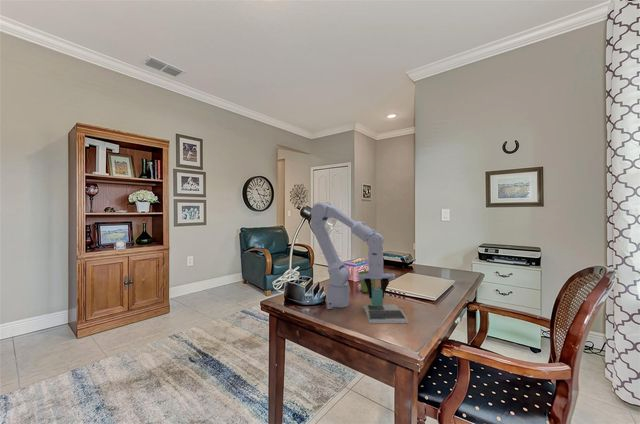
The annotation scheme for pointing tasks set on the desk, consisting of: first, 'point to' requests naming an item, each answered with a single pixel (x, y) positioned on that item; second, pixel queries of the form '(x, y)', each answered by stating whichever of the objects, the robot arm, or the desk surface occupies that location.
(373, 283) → the plant pot
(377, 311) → the case
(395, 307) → the lid
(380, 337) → the desk surface
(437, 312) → the desk surface
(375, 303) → the block
